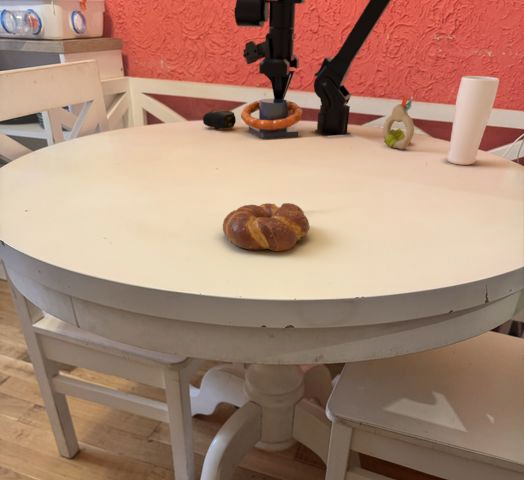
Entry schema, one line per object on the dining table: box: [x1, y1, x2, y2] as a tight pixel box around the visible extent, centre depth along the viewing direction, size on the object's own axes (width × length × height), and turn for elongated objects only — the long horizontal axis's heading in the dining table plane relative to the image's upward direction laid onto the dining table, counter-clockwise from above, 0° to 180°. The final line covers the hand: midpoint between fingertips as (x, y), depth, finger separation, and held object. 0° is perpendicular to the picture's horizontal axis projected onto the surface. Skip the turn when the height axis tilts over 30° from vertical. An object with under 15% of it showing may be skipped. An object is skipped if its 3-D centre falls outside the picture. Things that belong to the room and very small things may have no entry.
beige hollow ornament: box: [382, 90, 415, 151], centre depth 107 cm, size 8×8×12 cm
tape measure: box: [202, 109, 237, 131], centre depth 122 cm, size 7×7×4 cm
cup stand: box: [248, 98, 300, 140], centre depth 117 cm, size 9×9×7 cm
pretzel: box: [222, 202, 311, 252], centre depth 64 cm, size 12×11×4 cm
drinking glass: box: [446, 75, 500, 166], centre depth 96 cm, size 7×7×15 cm
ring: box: [240, 99, 303, 130], centre depth 117 cm, size 14×14×2 cm
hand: (278, 104), depth 121 cm, fingers closed on ring, 2 cm apart
